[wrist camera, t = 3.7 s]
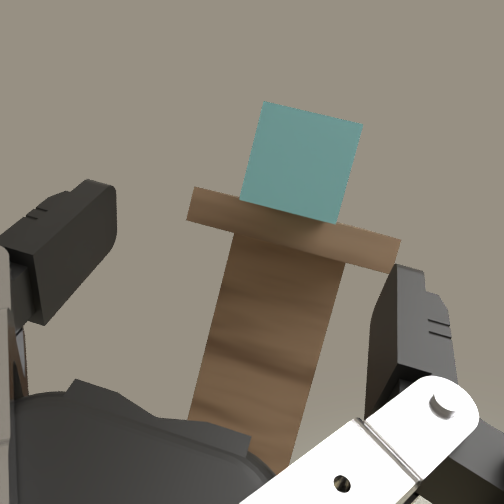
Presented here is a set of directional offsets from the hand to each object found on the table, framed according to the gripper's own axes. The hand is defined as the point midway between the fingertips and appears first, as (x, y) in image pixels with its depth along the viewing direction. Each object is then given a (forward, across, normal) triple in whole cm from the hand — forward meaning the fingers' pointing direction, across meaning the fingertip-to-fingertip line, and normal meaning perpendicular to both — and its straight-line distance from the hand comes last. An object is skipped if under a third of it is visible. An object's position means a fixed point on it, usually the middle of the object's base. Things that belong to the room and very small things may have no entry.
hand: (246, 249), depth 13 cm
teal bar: (+15, +1, -7) cm, 17 cm away
